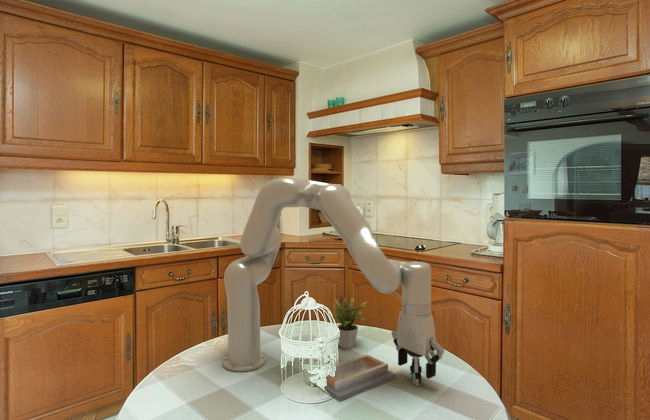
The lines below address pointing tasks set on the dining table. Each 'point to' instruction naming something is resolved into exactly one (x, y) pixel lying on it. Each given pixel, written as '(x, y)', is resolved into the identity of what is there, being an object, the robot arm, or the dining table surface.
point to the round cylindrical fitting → (415, 368)
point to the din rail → (356, 372)
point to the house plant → (348, 324)
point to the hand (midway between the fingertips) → (416, 370)
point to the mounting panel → (361, 386)
